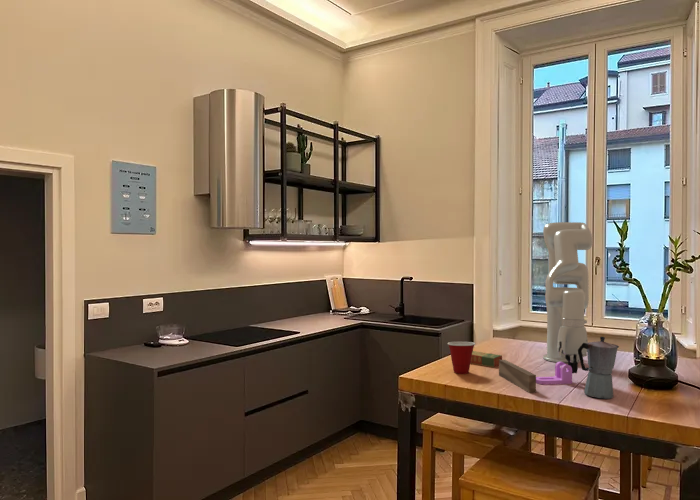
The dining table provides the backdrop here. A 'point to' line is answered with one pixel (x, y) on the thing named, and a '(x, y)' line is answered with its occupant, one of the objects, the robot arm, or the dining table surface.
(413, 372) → the dining table surface
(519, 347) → the dining table surface
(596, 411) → the dining table surface
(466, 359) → the plastic cup
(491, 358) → the carton
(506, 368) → the walnut board
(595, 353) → the moka pot
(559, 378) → the bracket
